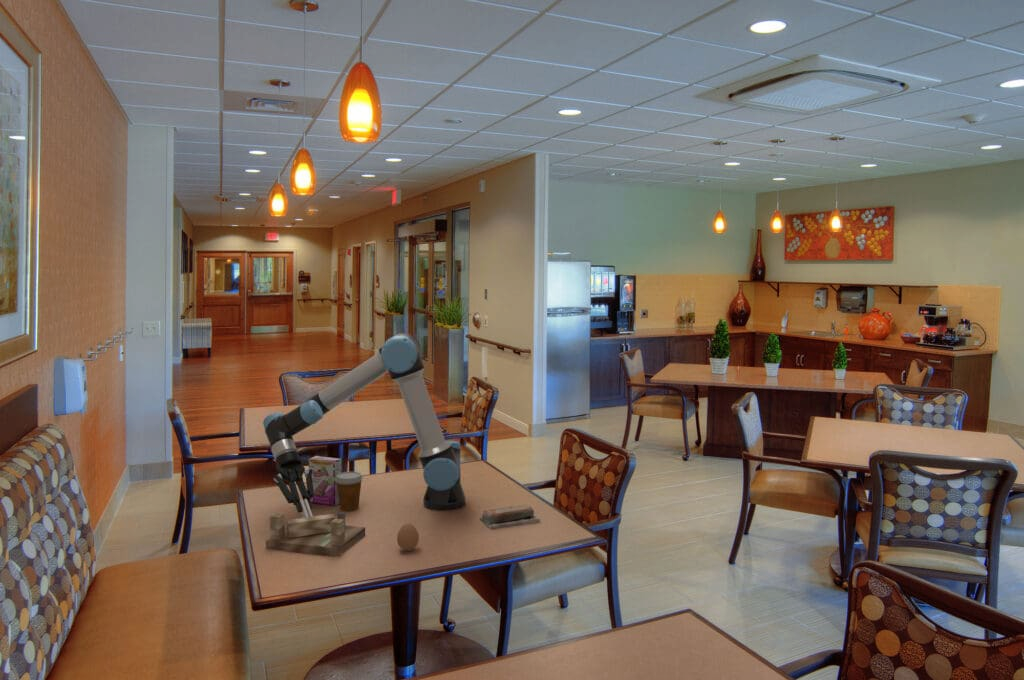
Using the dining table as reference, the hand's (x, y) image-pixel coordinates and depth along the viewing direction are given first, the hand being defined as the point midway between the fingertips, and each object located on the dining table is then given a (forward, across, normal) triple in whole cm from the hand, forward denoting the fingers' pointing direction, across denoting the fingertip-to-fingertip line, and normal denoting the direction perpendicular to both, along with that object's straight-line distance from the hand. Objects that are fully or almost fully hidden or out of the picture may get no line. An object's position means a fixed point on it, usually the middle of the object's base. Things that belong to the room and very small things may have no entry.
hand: (308, 519), depth 223 cm
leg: (+5, +1, 0) cm, 5 cm away
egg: (+24, -19, +16) cm, 34 cm away
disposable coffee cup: (-8, -23, -17) cm, 30 cm away
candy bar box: (-15, -20, -24) cm, 35 cm away
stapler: (+24, -58, +17) cm, 65 cm away
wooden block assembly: (+7, -1, -1) cm, 7 cm away
